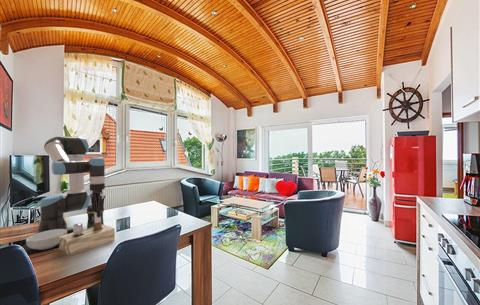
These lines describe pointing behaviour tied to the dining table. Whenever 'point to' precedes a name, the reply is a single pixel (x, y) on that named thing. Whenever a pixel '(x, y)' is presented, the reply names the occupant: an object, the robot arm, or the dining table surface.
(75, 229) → the metal peg
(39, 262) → the dining table surface
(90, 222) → the coffee jar
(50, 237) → the cereal bowl
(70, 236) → the birch block
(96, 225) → the walnut peg
